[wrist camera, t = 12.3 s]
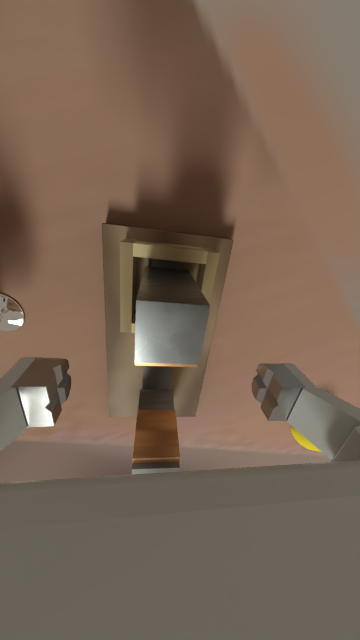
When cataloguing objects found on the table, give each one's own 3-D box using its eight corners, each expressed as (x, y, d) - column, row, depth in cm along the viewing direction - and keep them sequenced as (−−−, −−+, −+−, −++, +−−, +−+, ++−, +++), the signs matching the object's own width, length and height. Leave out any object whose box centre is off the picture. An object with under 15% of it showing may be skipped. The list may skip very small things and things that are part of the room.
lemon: (277, 423, 36) (292, 455, 31) (290, 401, 33) (308, 431, 28) (316, 430, 36) (336, 462, 31) (331, 408, 34) (355, 439, 29)
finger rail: (111, 407, 29) (86, 509, 19) (105, 223, 19) (45, 227, 9) (193, 408, 31) (211, 501, 21) (228, 238, 21) (298, 257, 11)
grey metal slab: (145, 265, 19) (135, 300, 11) (188, 269, 19) (210, 305, 11) (143, 311, 21) (134, 370, 13) (182, 314, 21) (197, 372, 13)
